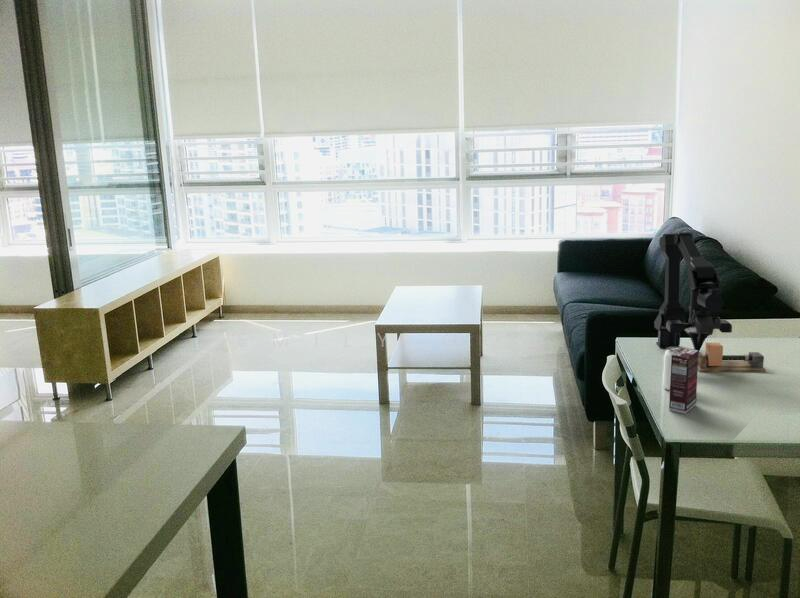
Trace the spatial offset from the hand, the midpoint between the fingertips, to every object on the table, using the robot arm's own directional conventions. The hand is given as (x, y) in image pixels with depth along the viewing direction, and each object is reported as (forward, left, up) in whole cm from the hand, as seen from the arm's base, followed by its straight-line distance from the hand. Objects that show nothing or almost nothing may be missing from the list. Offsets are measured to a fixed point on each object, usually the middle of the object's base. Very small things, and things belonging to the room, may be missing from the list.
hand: (696, 352), depth 239 cm
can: (-12, -20, -5) cm, 24 cm away
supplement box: (-14, -36, -5) cm, 39 cm away
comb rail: (+10, 0, -5) cm, 11 cm away
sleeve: (+5, 0, -4) cm, 6 cm away
